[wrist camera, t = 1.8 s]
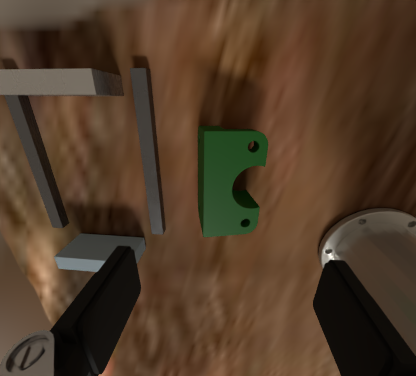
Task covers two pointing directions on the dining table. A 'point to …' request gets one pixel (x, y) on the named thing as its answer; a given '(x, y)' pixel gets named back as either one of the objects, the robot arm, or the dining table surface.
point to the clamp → (227, 179)
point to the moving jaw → (95, 251)
